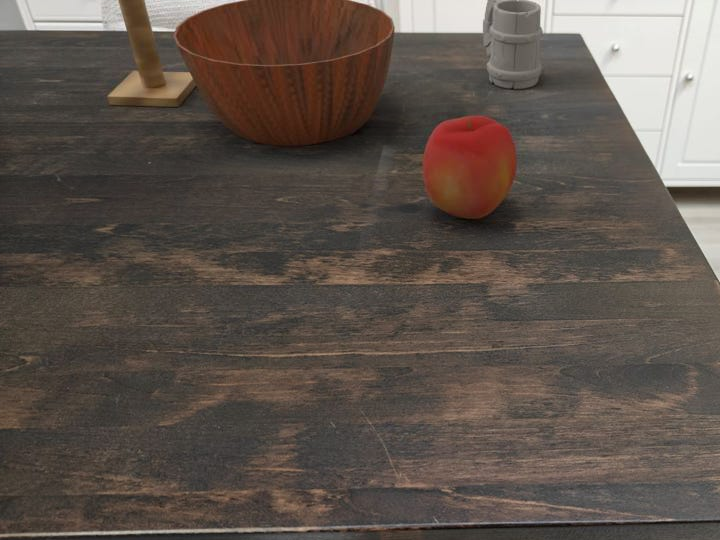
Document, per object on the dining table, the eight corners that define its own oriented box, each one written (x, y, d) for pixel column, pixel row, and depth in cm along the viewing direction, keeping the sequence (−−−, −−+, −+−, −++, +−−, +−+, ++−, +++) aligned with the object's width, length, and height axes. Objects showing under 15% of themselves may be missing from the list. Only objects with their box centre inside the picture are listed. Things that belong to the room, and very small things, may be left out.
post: (109, 105, 96) (66, -32, 86) (135, 79, 103) (98, -51, 92) (178, 107, 96) (144, -30, 86) (200, 81, 103) (170, -49, 92)
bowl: (193, 94, 99) (171, 3, 92) (376, 76, 106) (370, -11, 98) (201, 180, 82) (175, 76, 74) (421, 153, 88) (418, 54, 80)
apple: (533, 213, 78) (540, 121, 71) (468, 247, 73) (470, 152, 66) (468, 181, 83) (470, 92, 76) (404, 211, 78) (399, 119, 71)
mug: (505, 94, 102) (509, 0, 94) (462, 66, 109) (463, -23, 101) (551, 84, 105) (558, -8, 97) (506, 57, 112) (510, -30, 104)
